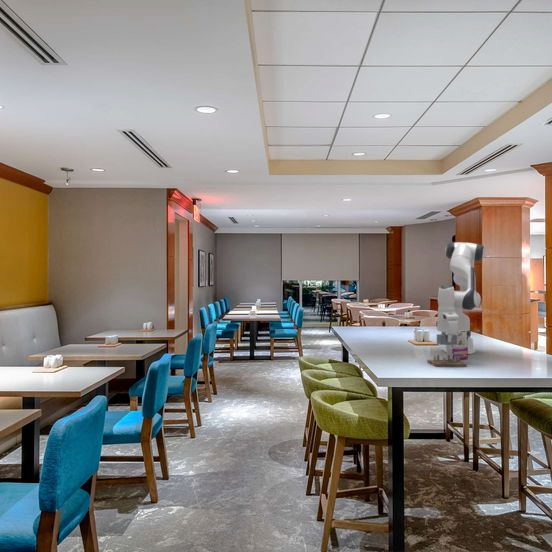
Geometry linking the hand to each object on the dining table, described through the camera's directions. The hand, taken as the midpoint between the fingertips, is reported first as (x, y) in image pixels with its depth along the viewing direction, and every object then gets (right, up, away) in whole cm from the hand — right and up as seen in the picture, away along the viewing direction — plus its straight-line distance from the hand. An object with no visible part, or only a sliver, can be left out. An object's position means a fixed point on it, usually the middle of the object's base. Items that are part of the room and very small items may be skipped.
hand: (446, 341), depth 253 cm
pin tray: (0, -13, 0) cm, 13 cm away
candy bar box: (+13, -13, +18) cm, 26 cm away
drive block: (0, -2, 0) cm, 2 cm away
